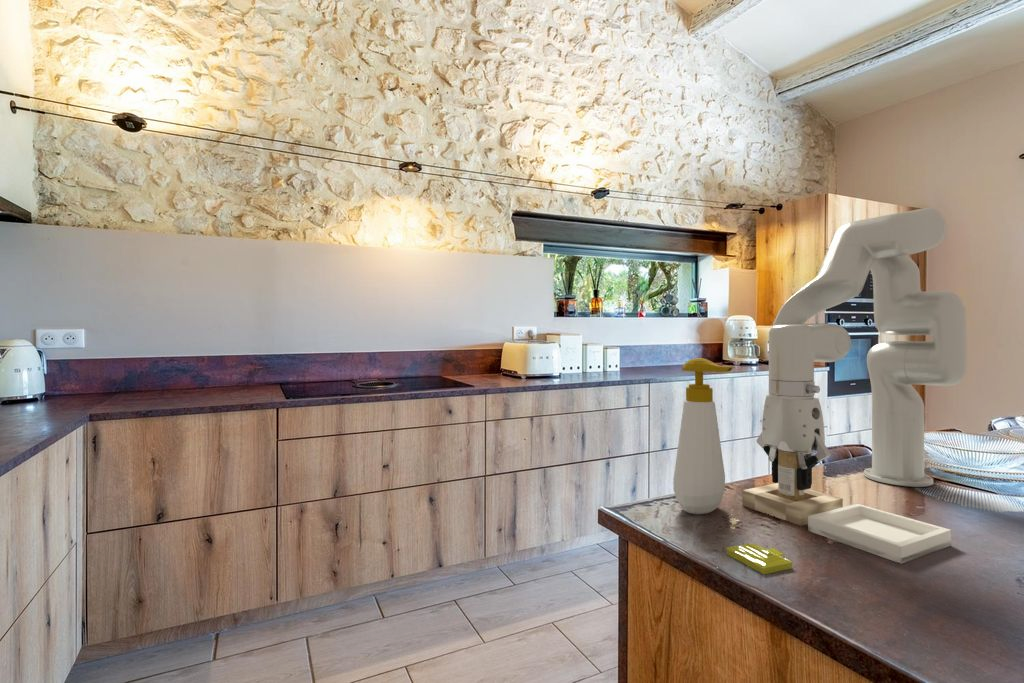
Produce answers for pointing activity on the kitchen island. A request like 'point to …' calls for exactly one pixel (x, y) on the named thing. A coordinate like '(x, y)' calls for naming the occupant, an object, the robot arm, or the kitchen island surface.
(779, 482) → the sprinkles bottle
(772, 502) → the socket holder
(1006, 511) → the kitchen island surface
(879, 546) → the tray
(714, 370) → the soap bottle
